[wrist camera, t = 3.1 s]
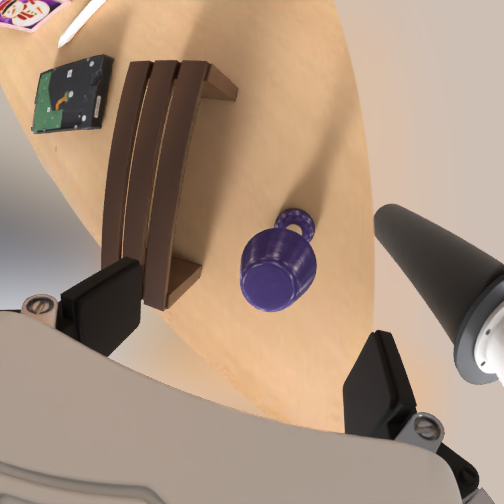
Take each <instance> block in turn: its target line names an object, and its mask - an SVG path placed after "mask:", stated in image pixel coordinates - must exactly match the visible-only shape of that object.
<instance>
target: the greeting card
mask: <svg viewBox="0 0 504 504" xmlns="http://www.w3.org/2000/svg"><path fill="white" fill-rule="evenodd" d="M70 3H72V2H71V1H68V0H0V26H3V27H8V28H13V29H17V30H21V31H26V32H30V33H34V32H35V31H37V30H38V29H39V28H40V27H41V26H42V25H44V24H45V23H46V22H47V21H48V20H50V19H51V18H52V17H53V16H55V15H56V14H57V13H58V12H60V11H61V10H62V9H64V8H65V7H66V6H68V5H69V4H70Z"/></svg>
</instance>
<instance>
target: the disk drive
mask: <svg viewBox="0 0 504 504" xmlns="http://www.w3.org/2000/svg"><path fill="white" fill-rule="evenodd" d="M113 61H114V58H112V57H109V56H107V55H104V54H103V55H98V56H93V57H90V58H86V59H83V60H79V61H76V62H73V63H69V64H66V65H63V66H60V67H57V68H54V69H50V70H48V71H45V72H43V73H41V74H40V78H39V83H38V88H37V93H36V97H35V103H34V104H36V106H35V111H34V112H35V113H34V118H33V127H31V131H33V133H34V134H42V133H51V132H61V131H72V130H93V129H101V126H102V120H103V115H104V109H105V103H106V97H107V91H108V86H109V81H110V76H111V72H112V65H113Z"/></svg>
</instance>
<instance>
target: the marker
mask: <svg viewBox="0 0 504 504" xmlns="http://www.w3.org/2000/svg"><path fill="white" fill-rule="evenodd" d="M105 1H107V0H92V1H91V2H90V3H89V4H88V5H86V7H85V8H84V9H83V10H82V11H81V12H80V14H79V15H78V16H77V17H76V18H75V19H74V20H73V22H72V23H71V24H70V25H69V26H68V28H67V29H66V30H65V31H64V33H63V34H62V36H61V37H60V40H59V43H58V48H59V47H62V46H64V45H65V44H67V43H68V42H69V41H70V40H71V39H72V38H73V37H74V36H75V34H76V33H77V32H78V31H79V30H80V28H81V27H82V26H83V25H84V24H85V23H86V22H87V20H88V19H89V18H90V17H91V16H92V15H93V14H94V13H95V12H96V11H97V10H98V9H99V8H100V7H101V6H102V5H103V3H104V2H105Z"/></svg>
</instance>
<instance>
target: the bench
mask: <svg viewBox="0 0 504 504" xmlns="http://www.w3.org/2000/svg"><path fill="white" fill-rule="evenodd" d="M146 86H148V88H147V92H146V96H145V100H144V104H143V109H142V113H141V118H140V123H139V128H138V133H137V138H136V143H135V149H134V155H133V161H132V167H131V174H130V181H129V189H128V197H127V206H126V216H125V228H124V241H123V257H126V256H127V257H130V258H133V259H136V260H139V262H140V265H142V267H143V271H142V287H141V300H142V299H143V300H144V304H145V305H148V306H150V307H153V308H156V309H158V310H161V311H164V310H165V309H169V308H170V307H171V306H172V305H173V304H174V303H175V302H176V301H177V300H178V299H179V298H180V297H181V296H182V295H183V294H184V293H185V292H186V291H187V290H188V289H189V288H190V287H191V286H192V285H193V284H194V283H195V282H196V281H197V280H198V279H199V278H200V274H201V268H202V266H201V265H198V264H195V263H192V262H188V261H185V260H182V259H179V258H176V257H173V256H171V255H172V248H173V240H174V233H175V226H176V219H177V213H178V206H179V200H180V194H181V188H182V183H183V177H184V172H185V166H186V161H187V156H188V151H189V146H190V141H191V136H192V132H193V127H194V123H195V118H196V114H197V110H198V105H199V101H200V97H201V98H210V99H218V100H226V101H233V102H235V101H236V97H237V93H238V88H237V87H236V86H235V85H234V84H233V83H232V82H231V81H230V80H229V79H228V78H227V77H226V76H225V75H224V74H223V73H221V72H220V71H219V70H218V69H217V68H216V67H215V66H214V65H213V64H209V63H208V62H207V61H186V60H183V61H182V62H178V61H177V60H157V61H155V62H154V63H153V62H151V61H134V62H130V65H129V69H128V72H127V76H126V80H125V83H124V87H123V91H122V95H121V100H120V104H119V109H118V113H117V118H116V123H115V128H114V133H113V139H112V145H111V151H110V158H109V165H108V172H107V180H106V189H105V200H104V212H103V227H102V252H101V253H102V254H101V270H102V269H104V268H106V267H107V266H109V265H111V264H113V263H115V262H116V261H118V260H120V259H121V254H122V237H123V224H124V213H125V203H126V195H127V186H128V179H129V172H130V165H131V159H132V153H133V147H134V141H135V136H136V131H137V126H138V121H139V116H140V111H141V107H142V103H143V98H144V94H145V90H146ZM171 95H173V98H172V103H171V107H170V111H169V116H168V120H167V125H166V129H165V134H164V139H163V144H162V149H161V155H160V160H159V166H158V172H157V178H156V185H155V191H154V198H153V205H152V213H151V221H150V230H149V239H148V248H146V240H147V230H148V221H149V213H150V205H151V198H152V191H153V184H154V178H155V171H156V166H157V160H158V154H159V149H160V144H161V138H162V133H163V129H164V124H165V119H166V115H167V110H168V106H169V102H170V98H171Z"/></svg>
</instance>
